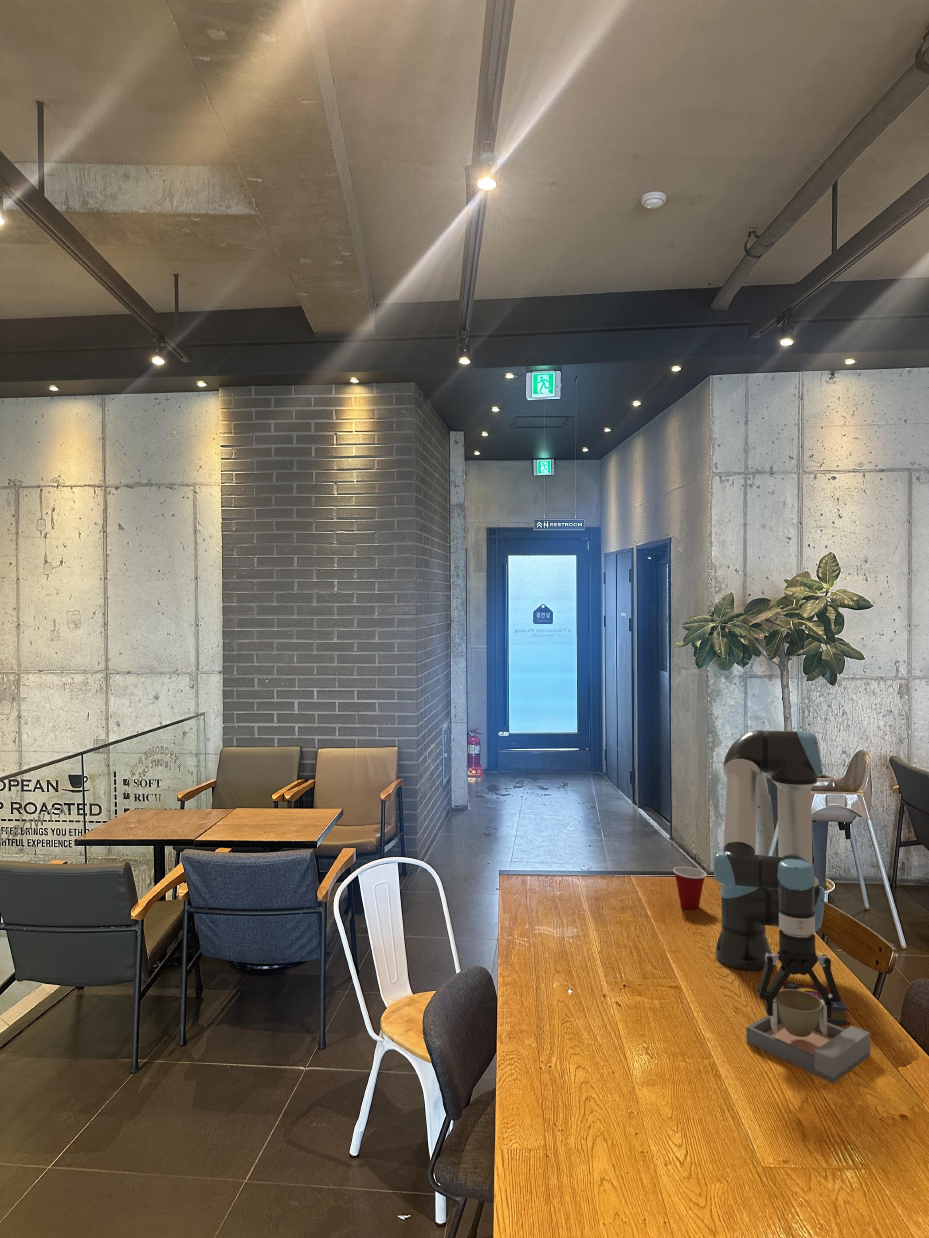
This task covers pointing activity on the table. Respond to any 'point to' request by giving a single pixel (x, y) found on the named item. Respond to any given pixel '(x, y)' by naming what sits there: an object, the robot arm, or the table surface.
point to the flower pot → (798, 1011)
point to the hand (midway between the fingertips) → (798, 1030)
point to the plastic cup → (689, 886)
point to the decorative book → (836, 1009)
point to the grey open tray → (813, 1047)
